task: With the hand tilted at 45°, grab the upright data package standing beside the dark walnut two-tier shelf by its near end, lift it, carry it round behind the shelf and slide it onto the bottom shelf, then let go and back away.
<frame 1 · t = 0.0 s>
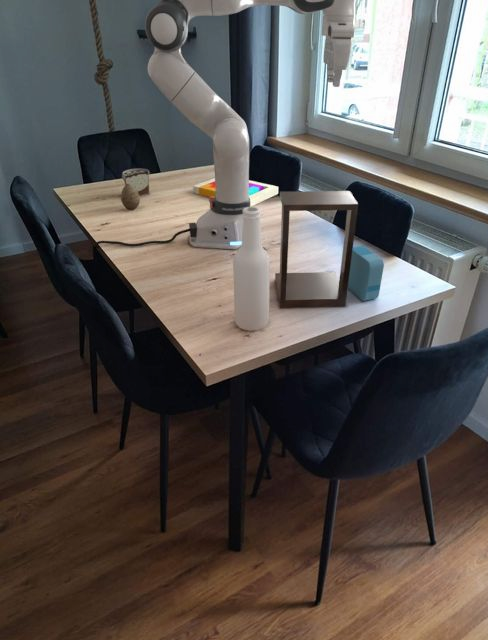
hand: (333, 84, 143), 48 cm above the table, tool pointing down, fingers open, 8 cm apart
data package: (360, 292, 140), on the table
puzzle game: (229, 196, 207), on the table
decorative egg: (132, 209, 193), on the table
food container: (136, 195, 207), on the table
shelf: (308, 293, 139), on the table
alcohol: (251, 323, 126), on the table
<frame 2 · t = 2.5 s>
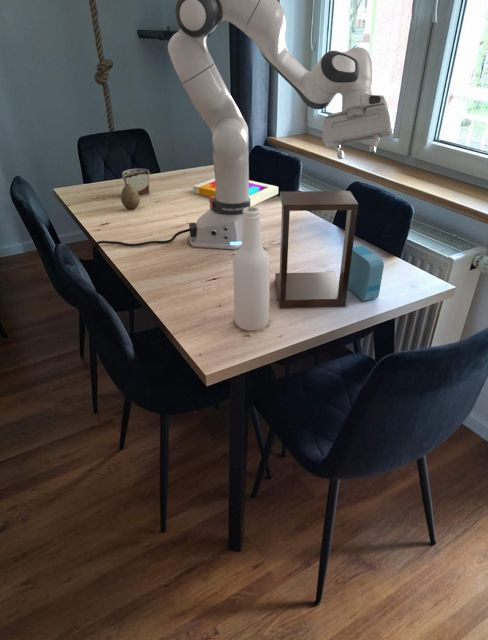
hand: (356, 155, 140), 32 cm above the table, tool tilted 40°, fingers open, 8 cm apart
nothing on the table moved.
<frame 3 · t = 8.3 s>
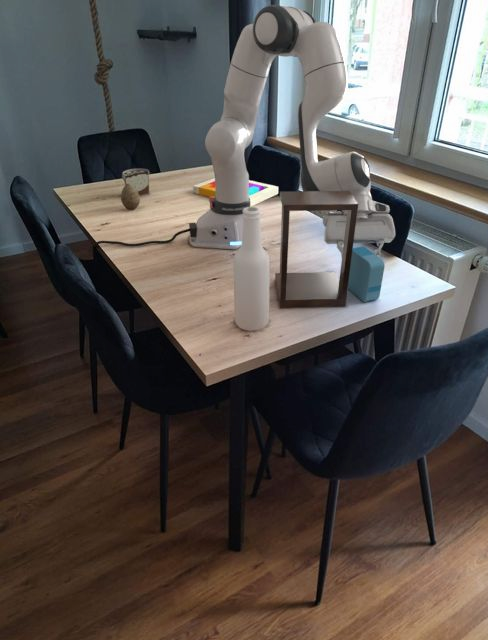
hand: (361, 256, 139), 9 cm above the table, tool tilted 45°, fingers open, 8 cm apart
data package: (360, 293, 139), on the table, touching gripper
everything else where it was.
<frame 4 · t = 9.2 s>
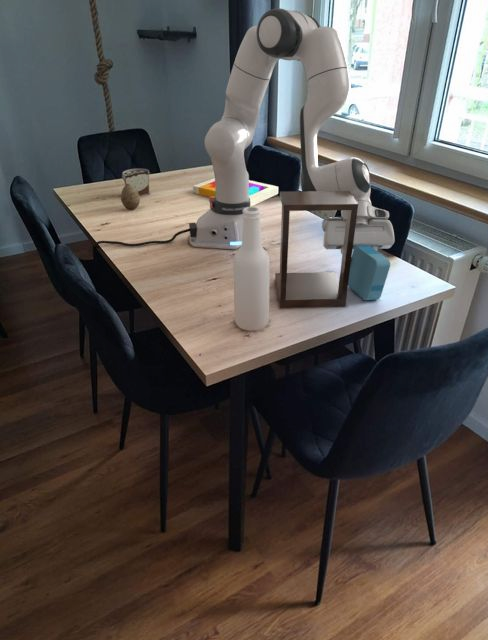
hand: (360, 262, 138), 7 cm above the table, tool tilted 45°, fingers closed on data package, 5 cm apart
data package: (361, 292, 139), on the table, touching gripper
everything else where it was.
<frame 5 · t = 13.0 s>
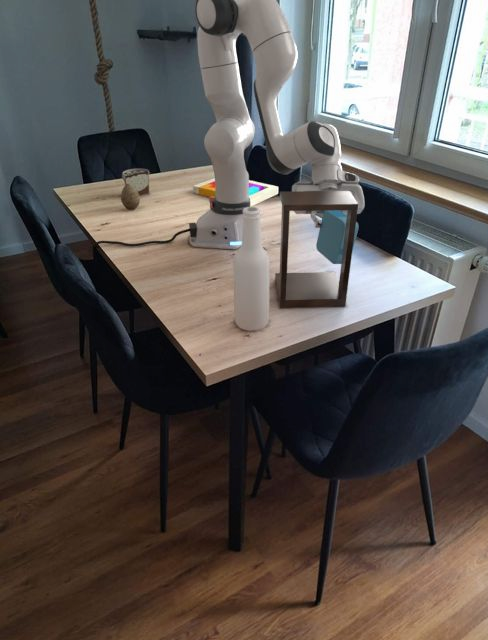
hand: (329, 227, 137), 16 cm above the table, tool tilted 45°, fingers closed on data package, 5 cm apart
data package: (331, 257, 138), point 9 cm above the table, touching gripper
everything else where it was.
when the fingers open (10 cm above the table, at t = 17.0 s): data package stays where it is, resting on shelf.
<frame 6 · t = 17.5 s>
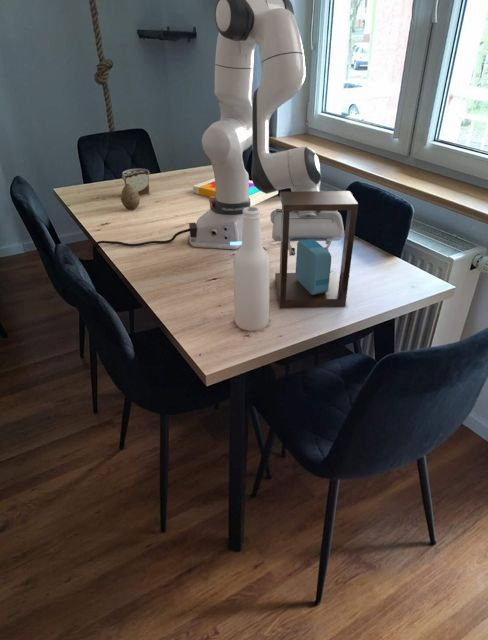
hand: (308, 254, 136), 10 cm above the table, tool tilted 45°, fingers open, 8 cm apart
data package: (311, 286, 137), point 2 cm above the table, touching shelf
everything else where it was.
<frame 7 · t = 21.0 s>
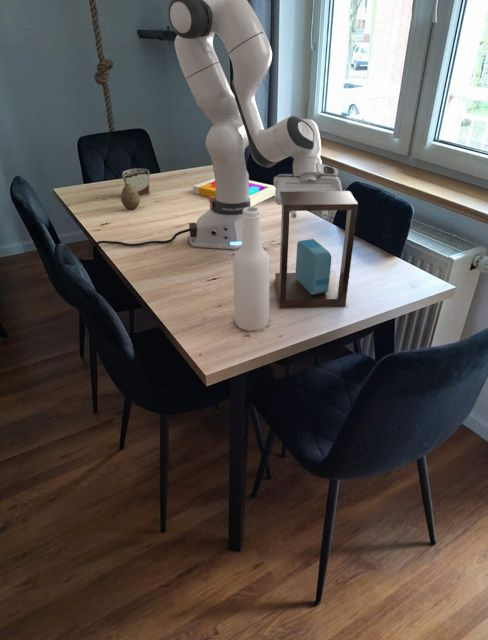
hand: (309, 217, 144), 16 cm above the table, tool tilted 45°, fingers open, 8 cm apart
nothing on the table moved.
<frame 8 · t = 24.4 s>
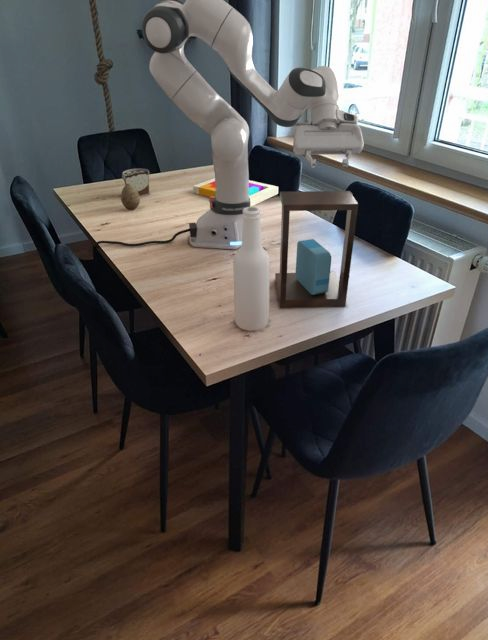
hand: (329, 166, 139), 29 cm above the table, tool tilted 45°, fingers open, 8 cm apart
nothing on the table moved.
at the end: data package inside the target area on the shelf (0.7 cm from its centre), point 2.3 cm above the shelf's base; data package tilted 0°; the gripper is holding nothing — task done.
